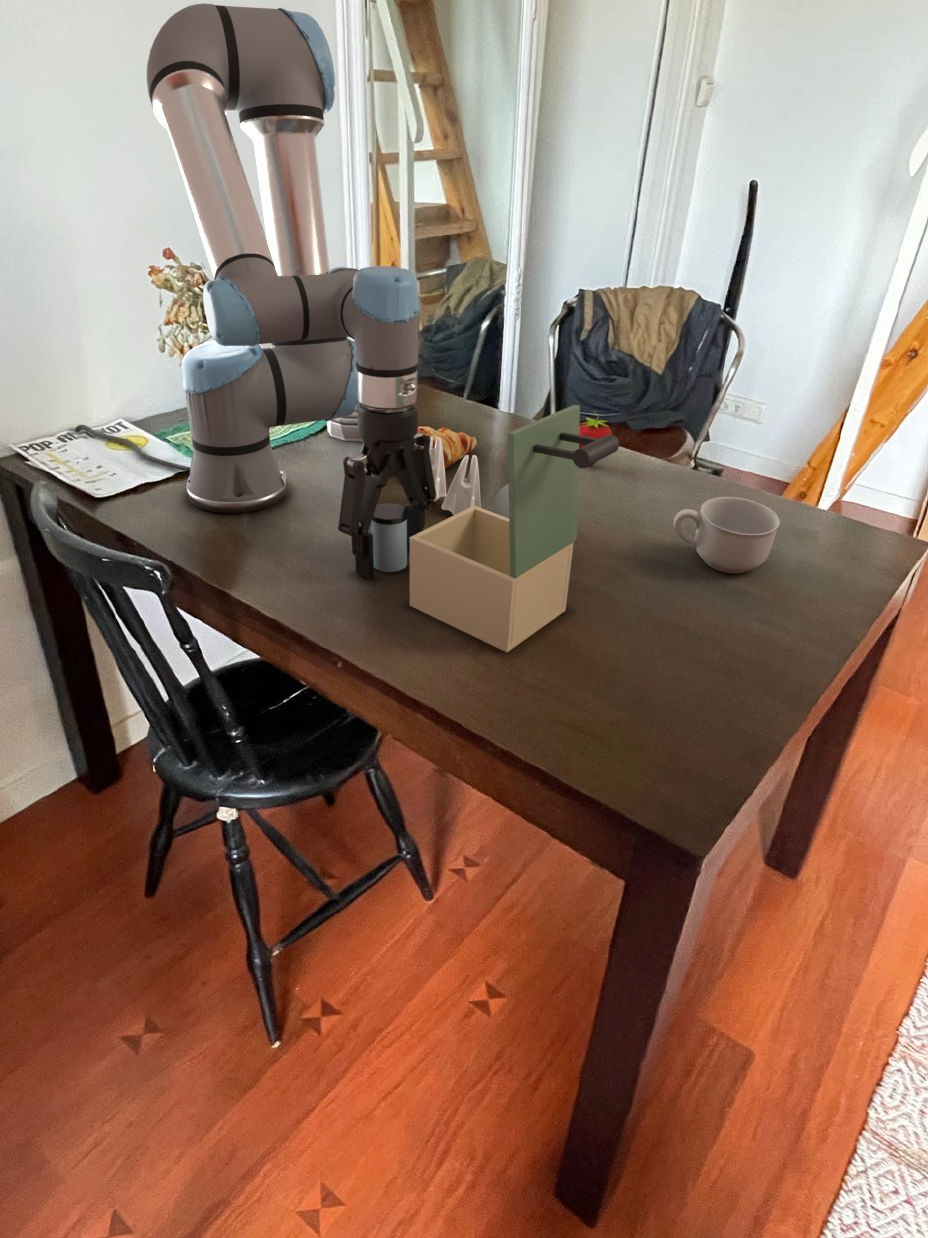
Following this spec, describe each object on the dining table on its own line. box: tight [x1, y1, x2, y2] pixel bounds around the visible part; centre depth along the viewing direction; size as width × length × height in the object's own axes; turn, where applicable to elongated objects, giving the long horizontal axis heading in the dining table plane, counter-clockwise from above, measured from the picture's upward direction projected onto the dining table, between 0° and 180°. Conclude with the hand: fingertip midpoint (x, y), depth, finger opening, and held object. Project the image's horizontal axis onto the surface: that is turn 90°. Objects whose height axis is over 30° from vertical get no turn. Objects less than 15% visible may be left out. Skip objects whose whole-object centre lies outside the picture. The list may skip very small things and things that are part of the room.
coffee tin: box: [370, 502, 408, 573], centre depth 113 cm, size 5×5×8 cm
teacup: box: [672, 496, 781, 574], centre depth 117 cm, size 14×11×8 cm
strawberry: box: [579, 410, 613, 467], centre depth 145 cm, size 6×8×10 cm
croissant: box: [418, 426, 477, 469], centre depth 144 cm, size 21×10×8 cm, turn 131°
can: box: [326, 403, 363, 442], centre depth 155 cm, size 11×11×12 cm
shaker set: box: [425, 437, 482, 516], centre depth 128 cm, size 12×4×11 cm, turn 56°
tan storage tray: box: [409, 506, 575, 653], centre depth 103 cm, size 16×13×10 cm
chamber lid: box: [507, 404, 620, 578], centre depth 90 cm, size 16×13×8 cm
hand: (390, 562), depth 115 cm, fingers open, 9 cm apart
